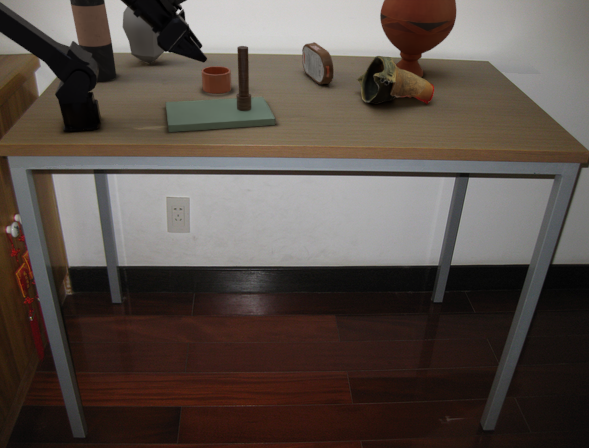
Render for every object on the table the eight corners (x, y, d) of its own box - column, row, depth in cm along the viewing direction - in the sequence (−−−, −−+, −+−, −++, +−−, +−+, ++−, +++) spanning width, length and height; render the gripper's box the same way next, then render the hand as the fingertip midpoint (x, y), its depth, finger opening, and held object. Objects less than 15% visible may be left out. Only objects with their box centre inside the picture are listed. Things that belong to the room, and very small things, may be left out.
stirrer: (234, 110, 107) (232, 48, 100) (239, 104, 110) (238, 44, 102) (248, 111, 107) (247, 50, 99) (253, 106, 109) (252, 46, 102)
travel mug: (108, 83, 122) (92, -5, 111) (79, 80, 123) (61, -7, 112) (123, 74, 128) (109, -10, 117) (95, 71, 129) (79, -13, 118)
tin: (333, 88, 126) (336, 54, 121) (321, 89, 124) (324, 55, 120) (310, 70, 137) (311, 38, 132) (299, 71, 136) (300, 39, 131)
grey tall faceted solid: (172, 69, 133) (159, -59, 116) (128, 71, 131) (108, -60, 114) (169, 57, 142) (157, -64, 125) (128, 58, 140) (110, -64, 123)
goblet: (450, 86, 130) (473, -19, 116) (377, 83, 130) (391, -22, 115) (435, 64, 145) (453, -31, 131) (369, 61, 145) (381, -34, 131)
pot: (456, 72, 110) (385, 46, 104) (439, 122, 112) (369, 99, 106) (417, 73, 126) (355, 51, 120) (403, 117, 128) (341, 97, 122)
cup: (204, 96, 117) (202, 75, 114) (201, 86, 123) (200, 66, 120) (233, 95, 119) (232, 74, 116) (229, 85, 124) (228, 65, 121)
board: (168, 132, 100) (168, 125, 99) (166, 108, 110) (165, 101, 110) (275, 125, 105) (275, 118, 104) (263, 102, 115) (263, 96, 115)
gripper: (169, -33, 82) (237, 35, 90) (164, -47, 96) (224, 13, 105) (126, 19, 84) (197, 80, 93) (128, -2, 99) (189, 52, 108)
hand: (203, 53), depth 100 cm, fingers open, 9 cm apart
